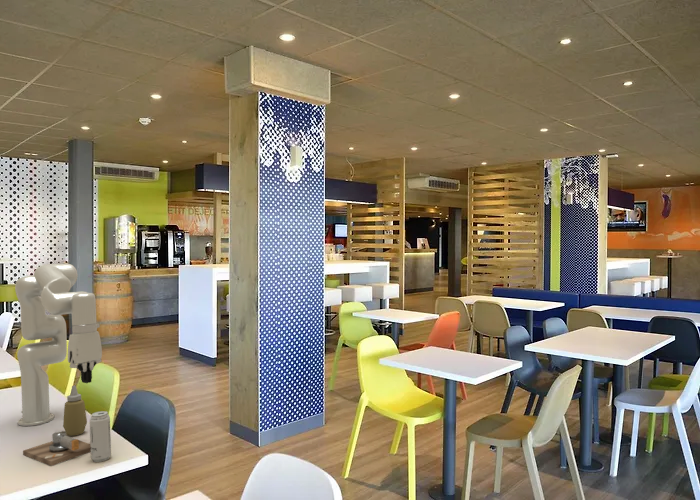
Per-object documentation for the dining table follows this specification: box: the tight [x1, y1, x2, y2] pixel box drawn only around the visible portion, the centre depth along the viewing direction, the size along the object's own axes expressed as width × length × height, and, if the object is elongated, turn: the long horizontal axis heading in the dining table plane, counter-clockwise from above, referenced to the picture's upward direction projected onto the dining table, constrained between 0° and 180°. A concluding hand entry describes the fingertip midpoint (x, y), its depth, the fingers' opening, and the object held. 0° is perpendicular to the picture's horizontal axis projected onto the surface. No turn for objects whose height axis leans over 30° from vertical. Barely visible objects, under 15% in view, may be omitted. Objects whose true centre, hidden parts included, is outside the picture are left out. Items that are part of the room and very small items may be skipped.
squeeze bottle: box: [62, 384, 88, 437], centre depth 199 cm, size 8×8×18 cm
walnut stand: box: [22, 439, 91, 467], centre depth 181 cm, size 18×15×2 cm
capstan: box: [49, 430, 79, 452], centre depth 178 cm, size 13×7×5 cm, turn 57°
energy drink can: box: [89, 410, 112, 463], centre depth 174 cm, size 6×6×15 cm
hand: (86, 382), depth 182 cm, fingers closed
